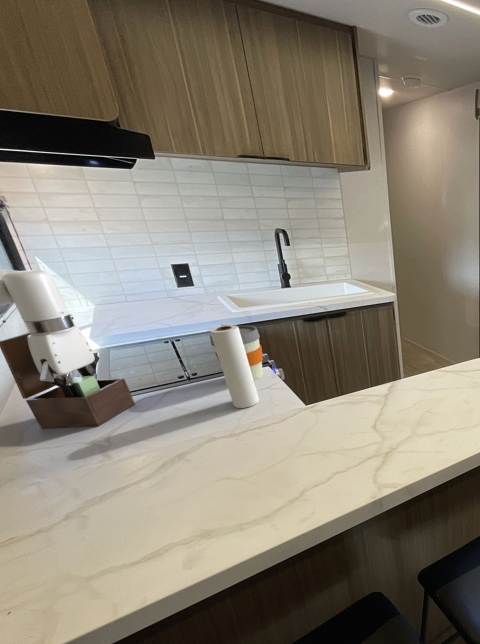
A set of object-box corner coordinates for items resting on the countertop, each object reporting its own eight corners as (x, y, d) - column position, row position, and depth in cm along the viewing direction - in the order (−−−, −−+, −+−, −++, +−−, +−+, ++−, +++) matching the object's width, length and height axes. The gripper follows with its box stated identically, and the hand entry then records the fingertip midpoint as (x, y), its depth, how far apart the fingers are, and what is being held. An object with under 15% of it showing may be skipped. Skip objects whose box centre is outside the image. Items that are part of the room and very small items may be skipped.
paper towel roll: (252, 408, 106) (229, 331, 98) (229, 409, 106) (204, 331, 97) (265, 396, 113) (245, 322, 104) (243, 397, 112) (221, 323, 104)
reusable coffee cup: (272, 379, 124) (260, 332, 118) (224, 389, 117) (208, 340, 111) (266, 366, 133) (255, 322, 127) (222, 375, 126) (207, 330, 120)
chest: (135, 404, 109) (124, 378, 106) (98, 426, 99) (84, 398, 96) (83, 406, 109) (71, 380, 106) (41, 428, 98) (25, 400, 95)
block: (86, 398, 99) (78, 382, 98) (67, 399, 99) (59, 383, 97) (101, 391, 103) (94, 375, 102) (83, 391, 103) (76, 376, 101)
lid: (51, 326, 100) (48, 326, 100) (0, 342, 89) (-3, 341, 89) (71, 378, 105) (68, 378, 105) (26, 398, 95) (22, 398, 95)
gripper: (68, 315, 102) (98, 381, 109) (-6, 336, 86) (35, 411, 93) (98, 315, 102) (126, 380, 109) (30, 335, 86) (68, 410, 94)
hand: (84, 394), depth 101 cm, fingers closed on block, 4 cm apart
